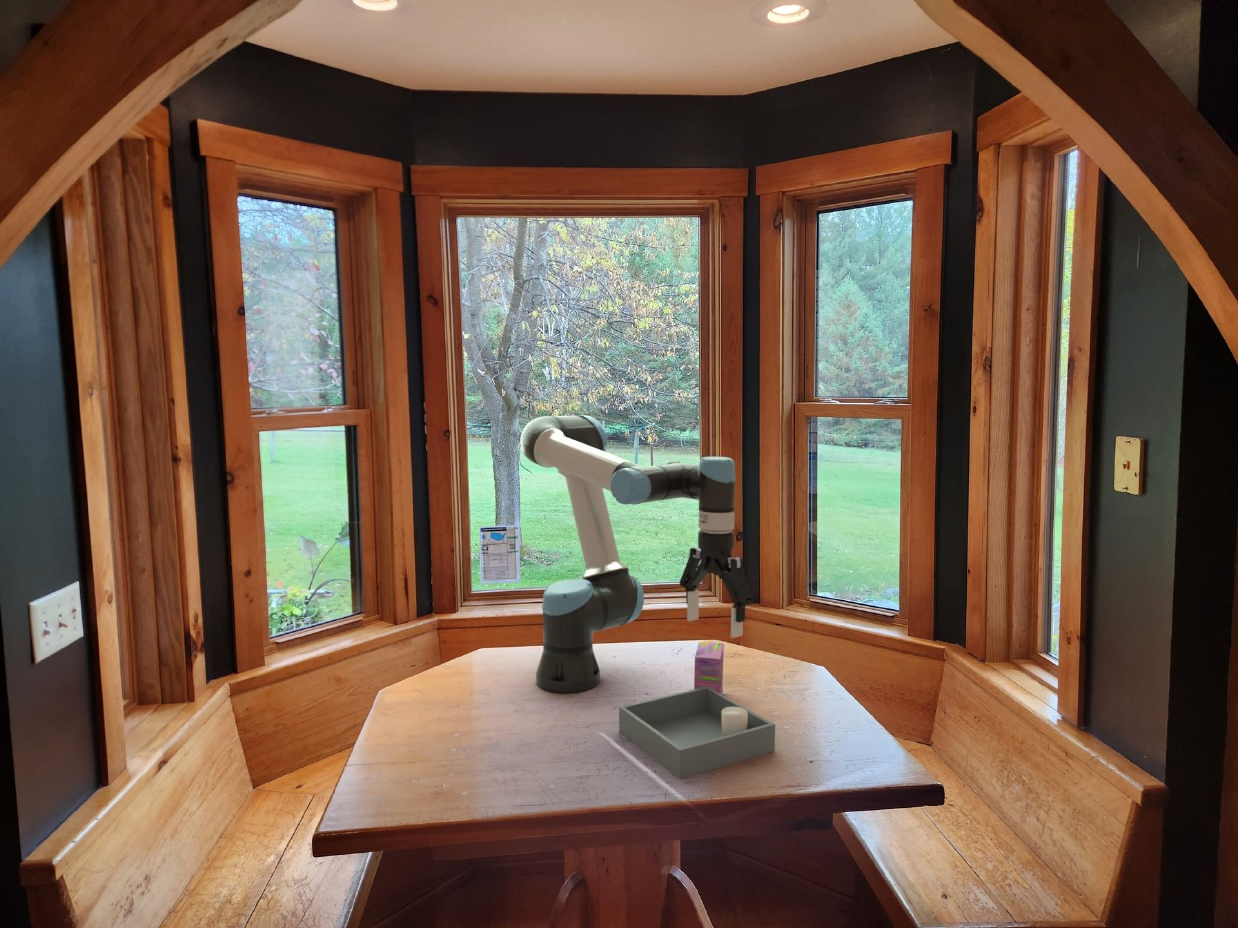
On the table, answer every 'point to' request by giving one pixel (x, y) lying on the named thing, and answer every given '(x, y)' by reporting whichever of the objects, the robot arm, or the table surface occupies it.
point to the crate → (693, 732)
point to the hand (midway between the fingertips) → (714, 627)
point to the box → (709, 666)
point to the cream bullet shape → (733, 720)
